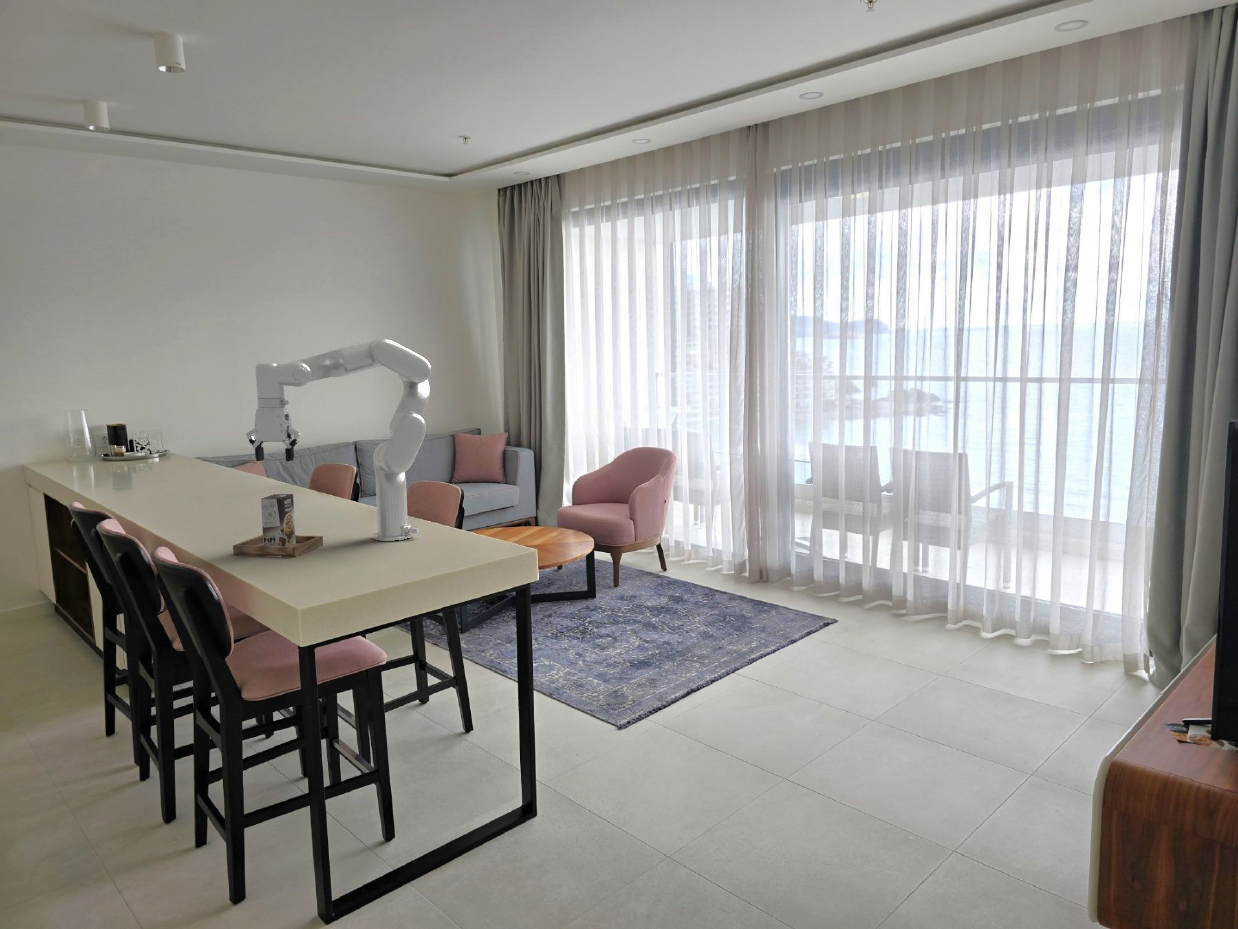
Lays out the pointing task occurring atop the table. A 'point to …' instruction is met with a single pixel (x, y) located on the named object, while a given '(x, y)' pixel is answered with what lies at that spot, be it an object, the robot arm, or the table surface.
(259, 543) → the tray
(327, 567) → the table surface
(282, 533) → the coffee box
